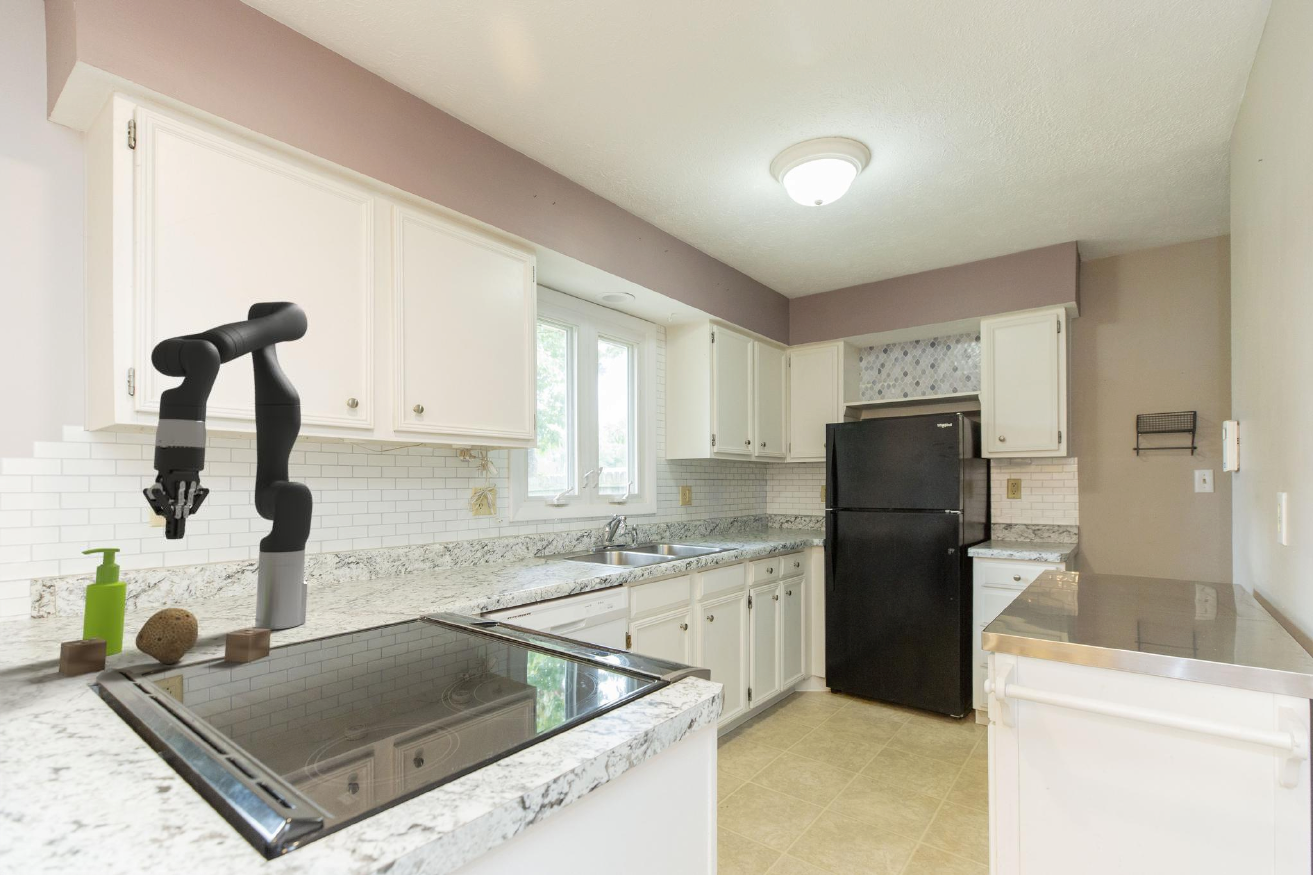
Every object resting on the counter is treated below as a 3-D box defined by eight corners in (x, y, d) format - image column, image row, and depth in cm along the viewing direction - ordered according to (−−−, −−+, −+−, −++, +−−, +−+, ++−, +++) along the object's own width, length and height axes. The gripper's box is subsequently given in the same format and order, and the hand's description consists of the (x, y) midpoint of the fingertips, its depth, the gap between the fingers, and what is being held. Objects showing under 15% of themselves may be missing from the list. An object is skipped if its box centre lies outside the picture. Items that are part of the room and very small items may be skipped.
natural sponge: (123, 672, 110) (127, 613, 110) (149, 658, 118) (152, 604, 119) (184, 668, 112) (187, 611, 113) (205, 655, 121) (208, 602, 121)
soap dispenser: (70, 654, 121) (79, 548, 122) (117, 647, 126) (124, 546, 128) (77, 660, 117) (86, 550, 118) (125, 652, 122) (132, 548, 124)
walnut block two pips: (246, 654, 122) (248, 627, 123) (269, 655, 121) (270, 628, 122) (224, 661, 117) (226, 633, 118) (247, 663, 116) (249, 634, 117)
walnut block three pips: (96, 665, 114) (98, 636, 114) (104, 670, 111) (107, 640, 111) (58, 672, 110) (61, 641, 110) (66, 677, 107) (69, 646, 107)
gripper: (190, 447, 125) (184, 536, 124) (130, 442, 112) (122, 541, 110) (226, 447, 125) (220, 536, 123) (170, 442, 111) (163, 542, 110)
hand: (174, 539), depth 117 cm, fingers closed
